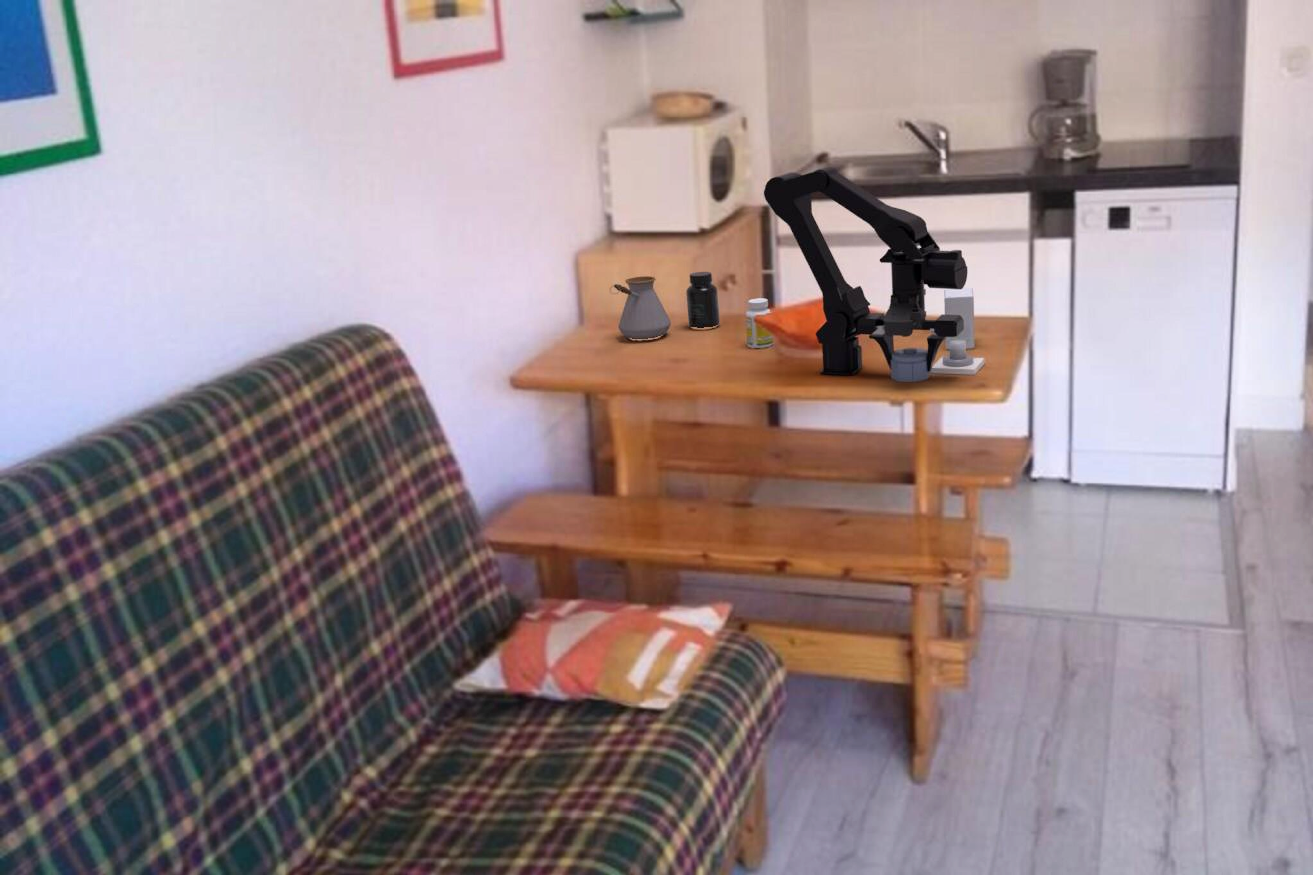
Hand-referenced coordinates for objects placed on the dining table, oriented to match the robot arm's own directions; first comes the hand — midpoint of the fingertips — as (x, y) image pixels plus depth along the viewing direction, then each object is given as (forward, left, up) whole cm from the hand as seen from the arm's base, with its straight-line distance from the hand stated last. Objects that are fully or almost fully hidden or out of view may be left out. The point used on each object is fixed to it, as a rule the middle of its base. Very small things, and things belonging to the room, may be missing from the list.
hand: (910, 370), depth 252 cm
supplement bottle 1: (-56, +32, -2) cm, 65 cm away
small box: (+3, +24, -2) cm, 24 cm away
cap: (0, 0, -1) cm, 1 cm away
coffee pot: (-65, +17, -2) cm, 67 cm away
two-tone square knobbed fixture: (+7, +7, -1) cm, 10 cm away
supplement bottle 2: (-37, +18, -2) cm, 41 cm away
